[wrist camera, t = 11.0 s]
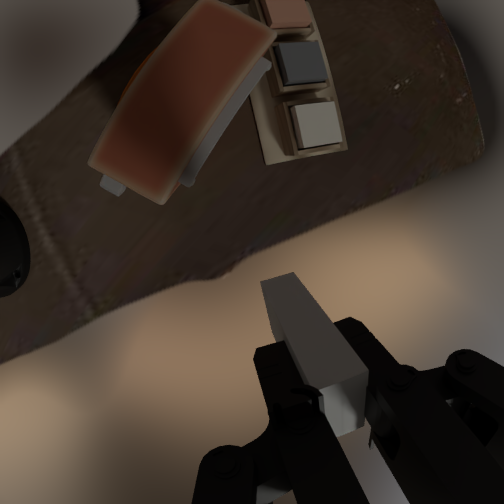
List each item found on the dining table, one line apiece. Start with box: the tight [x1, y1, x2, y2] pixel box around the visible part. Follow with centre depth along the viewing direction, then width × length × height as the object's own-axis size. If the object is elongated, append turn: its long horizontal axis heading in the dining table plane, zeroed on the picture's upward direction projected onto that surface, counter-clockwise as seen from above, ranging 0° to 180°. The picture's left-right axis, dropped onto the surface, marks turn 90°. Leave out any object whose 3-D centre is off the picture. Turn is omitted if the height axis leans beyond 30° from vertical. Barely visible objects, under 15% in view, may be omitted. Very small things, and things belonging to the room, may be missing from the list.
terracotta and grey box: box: [88, 0, 277, 205], centre depth 23 cm, size 21×7×15 cm
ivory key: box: [289, 101, 343, 148], centre depth 32 cm, size 5×5×4 cm
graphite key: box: [274, 42, 328, 87], centre depth 29 cm, size 5×5×4 cm
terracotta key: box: [259, 0, 312, 30], centre depth 26 cm, size 5×5×4 cm
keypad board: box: [232, 0, 348, 165], centre depth 31 cm, size 12×24×4 cm, turn 13°
